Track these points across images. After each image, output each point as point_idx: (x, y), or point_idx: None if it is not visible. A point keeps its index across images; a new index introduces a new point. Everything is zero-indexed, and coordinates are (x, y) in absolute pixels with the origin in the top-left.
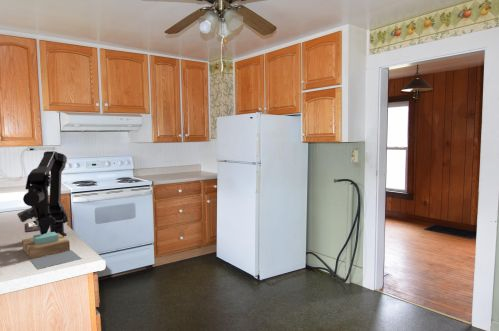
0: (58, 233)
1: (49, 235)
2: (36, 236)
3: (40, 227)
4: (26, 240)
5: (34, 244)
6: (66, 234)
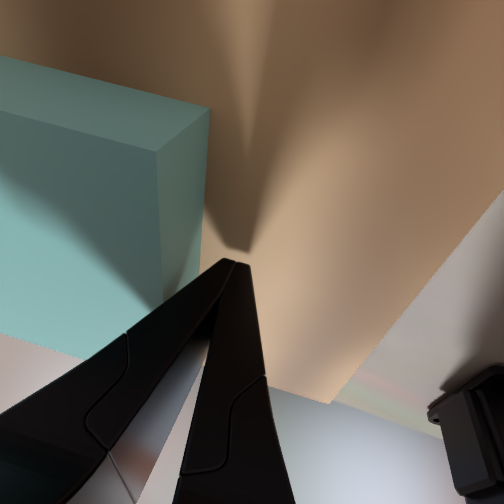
0: (312, 396)
1: (9, 289)
2: (43, 166)
3: (9, 417)
4: (439, 48)
5: (8, 32)
6: (429, 419)
